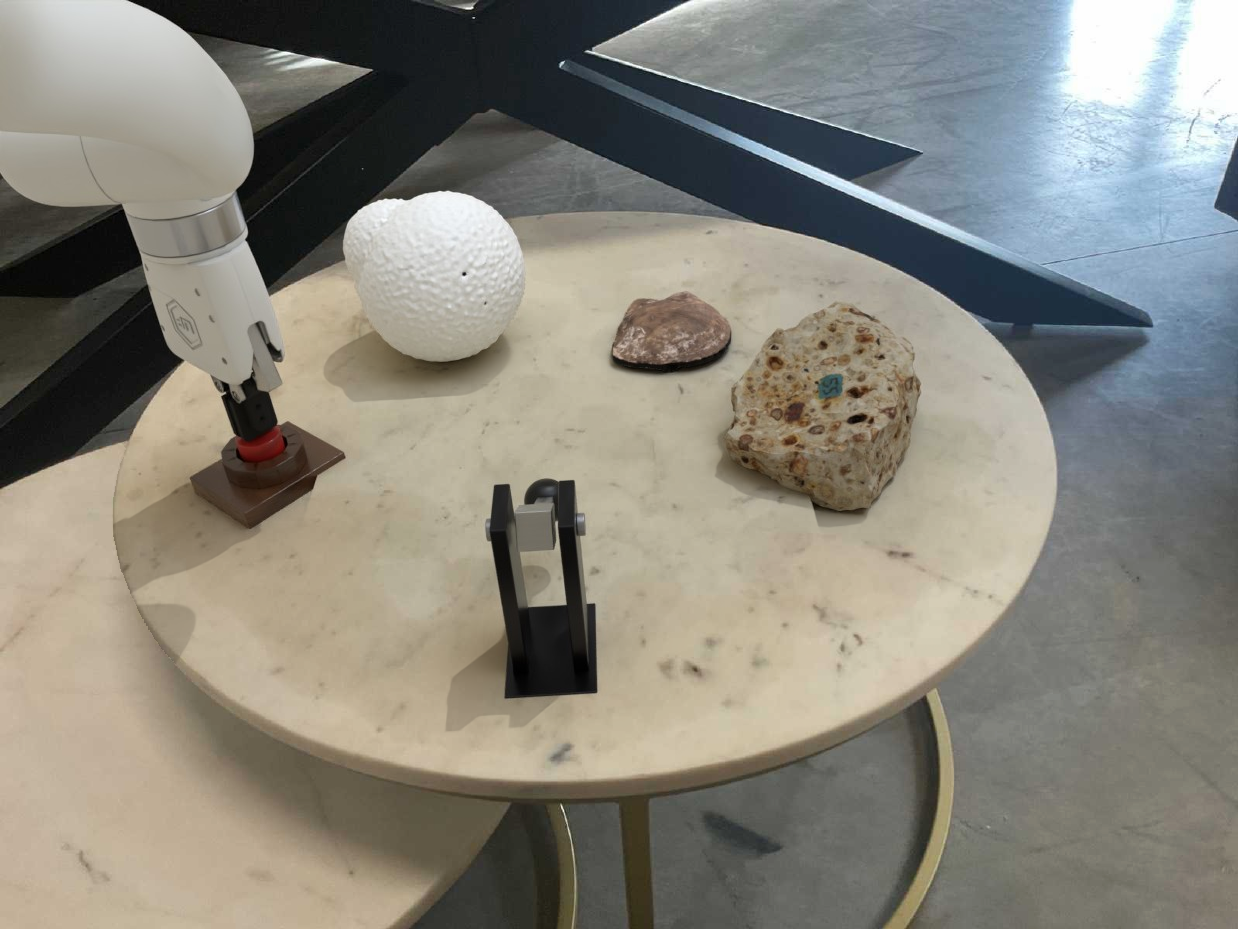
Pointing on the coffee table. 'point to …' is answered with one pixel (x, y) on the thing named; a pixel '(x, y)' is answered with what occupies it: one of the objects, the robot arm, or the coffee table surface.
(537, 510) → the lever
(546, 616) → the bracket
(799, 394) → the rock
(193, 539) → the coffee table surface
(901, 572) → the coffee table surface
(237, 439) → the button
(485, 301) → the decorative orb
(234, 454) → the control block
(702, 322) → the shell
